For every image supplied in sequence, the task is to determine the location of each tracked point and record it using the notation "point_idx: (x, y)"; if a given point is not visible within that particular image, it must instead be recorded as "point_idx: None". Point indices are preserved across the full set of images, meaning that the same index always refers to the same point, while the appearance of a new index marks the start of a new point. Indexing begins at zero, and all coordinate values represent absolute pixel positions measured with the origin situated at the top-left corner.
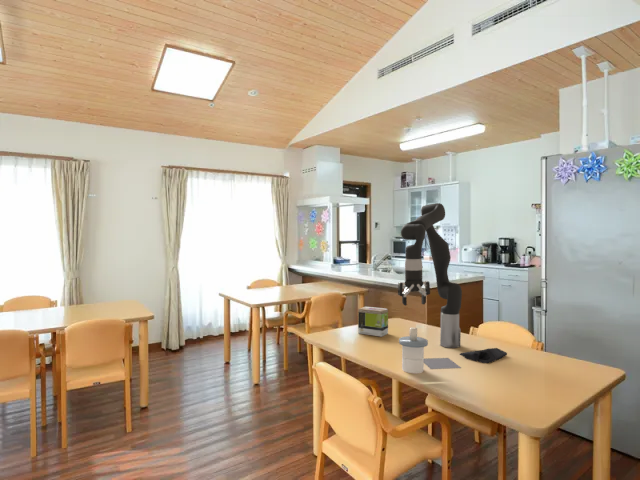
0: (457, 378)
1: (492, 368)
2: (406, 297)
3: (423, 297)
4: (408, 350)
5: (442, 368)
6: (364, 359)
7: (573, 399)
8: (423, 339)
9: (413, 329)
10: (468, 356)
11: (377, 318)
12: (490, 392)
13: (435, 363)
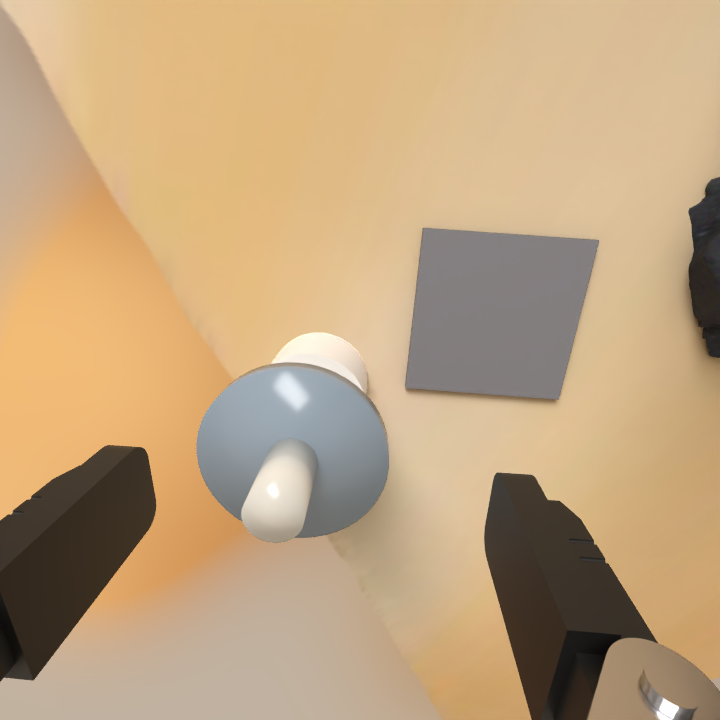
0: (467, 482)
1: (708, 409)
2: (33, 678)
3: (531, 697)
4: None
5: (463, 391)
6: (111, 164)
7: (708, 669)
8: (367, 461)
9: (263, 539)
10: (708, 286)
11: None
12: None
13: (470, 320)
